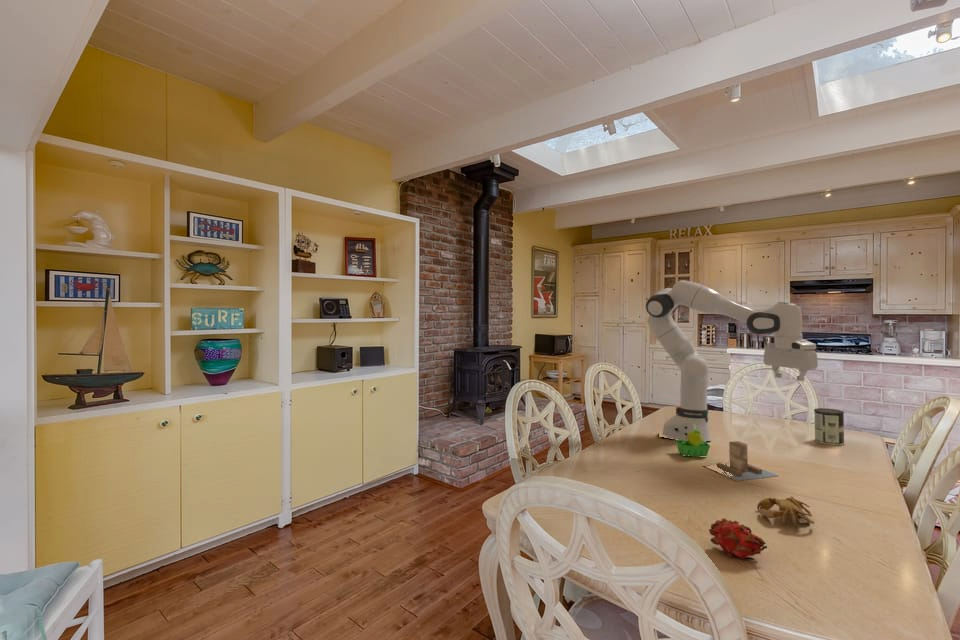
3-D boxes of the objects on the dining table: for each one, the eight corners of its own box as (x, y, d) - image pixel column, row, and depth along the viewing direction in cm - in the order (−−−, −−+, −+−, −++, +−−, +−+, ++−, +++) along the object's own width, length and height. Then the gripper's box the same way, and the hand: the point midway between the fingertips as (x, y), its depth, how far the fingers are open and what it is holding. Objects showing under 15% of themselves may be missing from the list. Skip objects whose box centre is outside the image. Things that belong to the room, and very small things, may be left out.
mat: (741, 461, 167) (741, 457, 167) (778, 476, 151) (778, 471, 151) (701, 465, 163) (701, 461, 163) (736, 481, 147) (736, 476, 147)
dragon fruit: (705, 550, 107) (762, 574, 100) (703, 542, 101) (763, 567, 94) (713, 516, 110) (768, 537, 103) (711, 507, 105) (770, 529, 97)
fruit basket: (703, 452, 179) (702, 425, 179) (712, 459, 170) (712, 431, 170) (674, 452, 180) (674, 425, 180) (682, 459, 171) (682, 430, 171)
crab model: (756, 504, 130) (756, 486, 130) (809, 513, 123) (809, 494, 123) (757, 525, 117) (757, 505, 117) (817, 536, 110) (816, 515, 110)
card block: (738, 467, 160) (738, 441, 159) (747, 471, 156) (747, 444, 156) (729, 468, 159) (729, 441, 159) (738, 472, 155) (738, 445, 155)
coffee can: (831, 438, 195) (831, 407, 195) (850, 445, 185) (850, 412, 185) (808, 439, 196) (808, 408, 196) (826, 445, 185) (826, 413, 185)
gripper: (759, 342, 177) (759, 376, 177) (806, 345, 157) (807, 383, 157) (771, 342, 178) (772, 375, 178) (820, 344, 158) (821, 382, 158)
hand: (789, 379), depth 167 cm, fingers open, 8 cm apart
